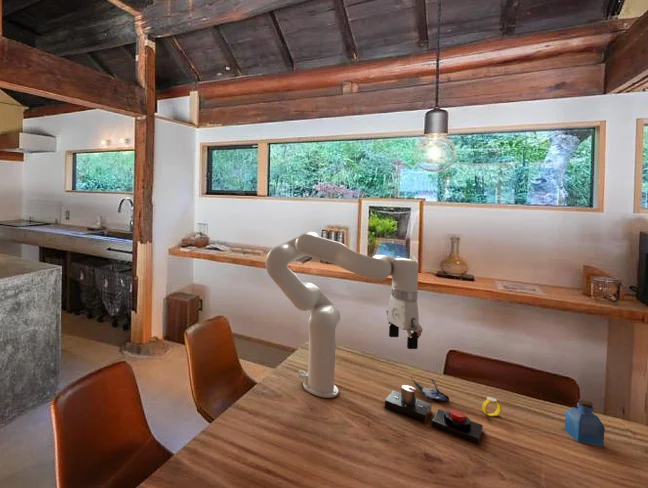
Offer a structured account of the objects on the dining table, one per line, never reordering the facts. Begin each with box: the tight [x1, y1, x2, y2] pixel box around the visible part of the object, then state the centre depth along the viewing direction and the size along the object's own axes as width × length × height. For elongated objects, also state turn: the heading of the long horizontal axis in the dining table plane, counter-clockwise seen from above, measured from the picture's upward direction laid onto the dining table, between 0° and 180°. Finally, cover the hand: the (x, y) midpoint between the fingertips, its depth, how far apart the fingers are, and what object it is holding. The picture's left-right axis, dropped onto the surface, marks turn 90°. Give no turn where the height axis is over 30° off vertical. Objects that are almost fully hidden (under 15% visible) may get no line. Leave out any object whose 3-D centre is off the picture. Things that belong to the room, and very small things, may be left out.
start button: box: [449, 409, 466, 422], centre depth 130 cm, size 4×4×2 cm
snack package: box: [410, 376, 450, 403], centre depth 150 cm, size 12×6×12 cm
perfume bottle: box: [564, 398, 606, 447], centre depth 126 cm, size 6×6×12 cm
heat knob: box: [400, 384, 417, 405], centre depth 140 cm, size 4×4×5 cm
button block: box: [431, 408, 484, 446], centre depth 130 cm, size 12×10×4 cm
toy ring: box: [481, 396, 502, 417], centre depth 138 cm, size 6×3×6 cm, turn 93°
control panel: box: [384, 389, 432, 425], centre depth 140 cm, size 12×10×3 cm
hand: (402, 342), depth 136 cm, fingers open, 9 cm apart
